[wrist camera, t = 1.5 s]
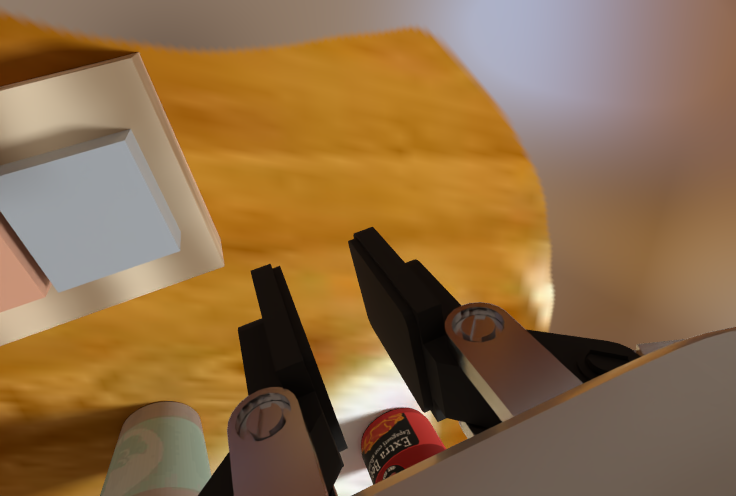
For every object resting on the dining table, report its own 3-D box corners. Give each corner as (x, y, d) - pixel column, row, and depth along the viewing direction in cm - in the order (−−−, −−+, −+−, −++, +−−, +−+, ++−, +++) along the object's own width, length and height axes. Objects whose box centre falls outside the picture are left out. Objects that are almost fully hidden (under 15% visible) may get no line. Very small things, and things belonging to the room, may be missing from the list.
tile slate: (69, 268, 24) (58, 292, 22) (0, 165, 21) (-21, 181, 19) (180, 231, 25) (180, 251, 23) (130, 128, 22) (124, 140, 20)
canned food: (391, 395, 43) (446, 498, 34) (442, 418, 47) (503, 514, 38) (342, 451, 44) (383, 565, 35) (396, 468, 49) (445, 574, 39)
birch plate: (-47, 330, 27) (-79, 373, 24) (-219, 141, 21) (-296, 165, 18) (220, 238, 30) (224, 266, 27) (138, 52, 24) (130, 58, 21)
